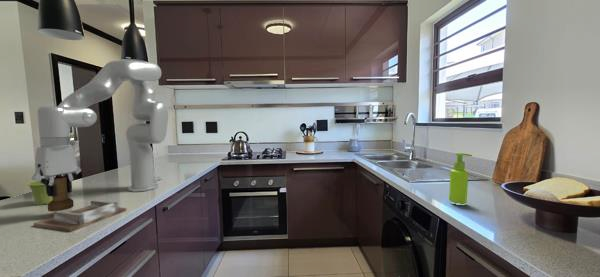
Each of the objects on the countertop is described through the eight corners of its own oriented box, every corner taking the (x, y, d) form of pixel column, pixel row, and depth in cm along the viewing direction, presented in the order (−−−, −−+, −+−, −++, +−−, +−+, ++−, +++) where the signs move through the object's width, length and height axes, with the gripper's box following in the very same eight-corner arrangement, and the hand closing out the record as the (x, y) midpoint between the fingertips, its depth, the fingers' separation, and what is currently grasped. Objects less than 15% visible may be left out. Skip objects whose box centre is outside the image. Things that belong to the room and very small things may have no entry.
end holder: (93, 206, 96) (93, 196, 96) (126, 210, 92) (125, 200, 92) (33, 226, 79) (32, 213, 79) (70, 231, 75) (69, 218, 75)
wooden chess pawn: (57, 212, 85) (53, 159, 83) (42, 211, 86) (38, 159, 85) (78, 205, 91) (74, 156, 90) (64, 204, 92) (60, 156, 91)
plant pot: (68, 199, 106) (67, 179, 105) (44, 207, 97) (42, 185, 96) (49, 198, 107) (47, 178, 106) (22, 206, 97) (20, 184, 97)
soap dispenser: (470, 207, 94) (473, 154, 93) (449, 204, 98) (451, 153, 96) (469, 202, 99) (471, 153, 98) (448, 200, 103) (450, 151, 101)
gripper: (74, 140, 96) (78, 187, 97) (15, 144, 80) (21, 200, 81) (89, 140, 94) (93, 188, 95) (31, 145, 78) (37, 202, 79)
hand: (59, 193), depth 88 cm, fingers closed on wooden chess pawn, 3 cm apart
